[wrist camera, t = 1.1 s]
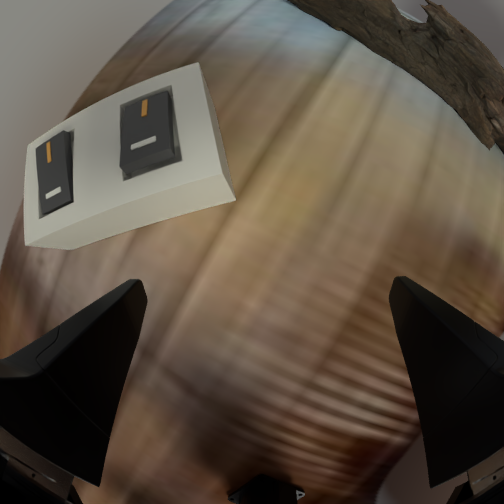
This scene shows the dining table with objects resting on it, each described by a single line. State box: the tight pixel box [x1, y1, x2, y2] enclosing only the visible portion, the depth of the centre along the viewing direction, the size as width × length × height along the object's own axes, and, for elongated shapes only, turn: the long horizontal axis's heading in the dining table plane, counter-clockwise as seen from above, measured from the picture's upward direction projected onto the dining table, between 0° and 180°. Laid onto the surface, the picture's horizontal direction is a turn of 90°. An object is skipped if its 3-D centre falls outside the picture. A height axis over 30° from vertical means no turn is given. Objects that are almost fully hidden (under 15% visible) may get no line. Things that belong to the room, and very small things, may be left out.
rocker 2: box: [119, 91, 175, 174], centre depth 16 cm, size 6×4×1 cm, turn 13°
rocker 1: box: [35, 130, 74, 214], centre depth 17 cm, size 6×4×1 cm, turn 14°
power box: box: [24, 62, 236, 250], centre depth 20 cm, size 15×18×7 cm
